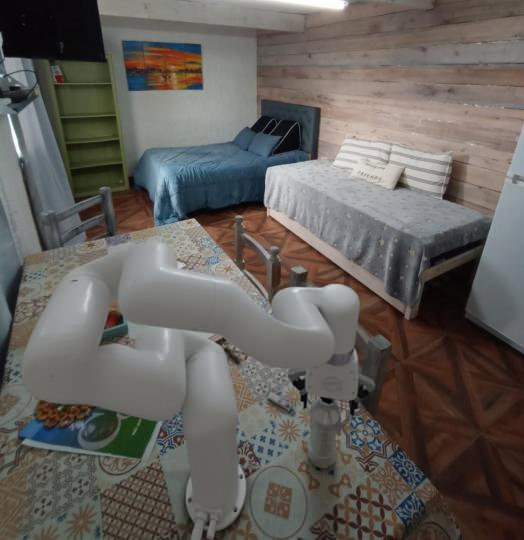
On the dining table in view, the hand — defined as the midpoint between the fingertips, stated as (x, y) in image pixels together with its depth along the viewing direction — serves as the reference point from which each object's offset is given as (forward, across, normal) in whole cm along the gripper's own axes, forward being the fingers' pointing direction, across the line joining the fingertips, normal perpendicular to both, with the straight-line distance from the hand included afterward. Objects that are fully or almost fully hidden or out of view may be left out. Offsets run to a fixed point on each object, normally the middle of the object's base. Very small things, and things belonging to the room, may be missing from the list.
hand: (327, 405), depth 67 cm
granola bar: (+17, -11, +11) cm, 23 cm away
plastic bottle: (+17, 0, 0) cm, 17 cm away
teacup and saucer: (+17, -72, +62) cm, 97 cm away
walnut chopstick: (+17, -27, +23) cm, 39 cm away
